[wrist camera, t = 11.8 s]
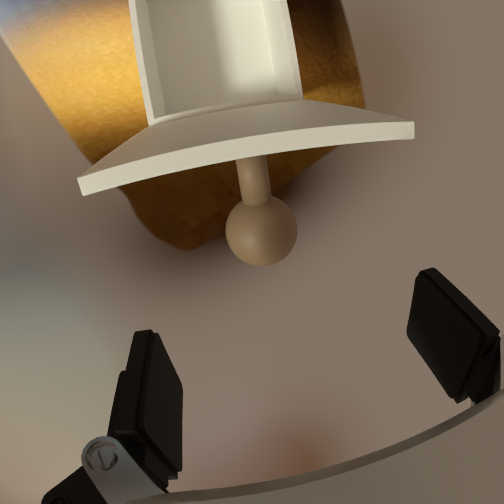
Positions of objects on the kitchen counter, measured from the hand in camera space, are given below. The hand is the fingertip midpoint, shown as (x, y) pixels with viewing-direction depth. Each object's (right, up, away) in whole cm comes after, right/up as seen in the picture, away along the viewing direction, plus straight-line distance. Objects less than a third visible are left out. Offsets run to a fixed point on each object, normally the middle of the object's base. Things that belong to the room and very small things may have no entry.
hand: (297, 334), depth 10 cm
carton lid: (-3, +11, +8) cm, 14 cm away
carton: (-6, +26, +19) cm, 33 cm away
